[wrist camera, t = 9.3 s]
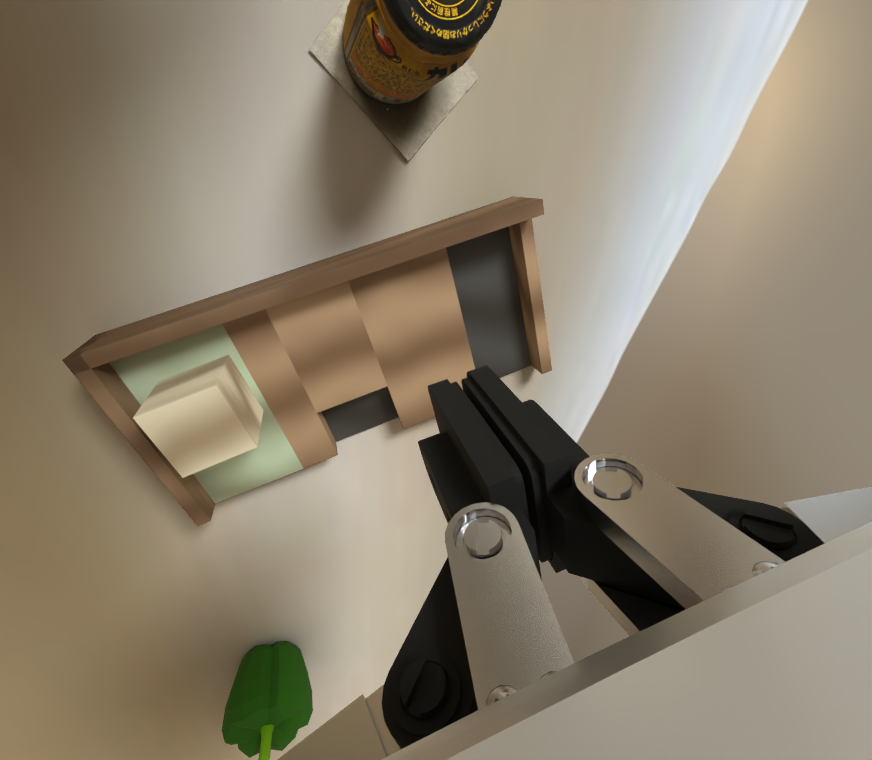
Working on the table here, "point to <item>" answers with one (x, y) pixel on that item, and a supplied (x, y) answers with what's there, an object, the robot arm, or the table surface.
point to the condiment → (405, 60)
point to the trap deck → (336, 343)
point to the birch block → (202, 416)
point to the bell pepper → (268, 700)
